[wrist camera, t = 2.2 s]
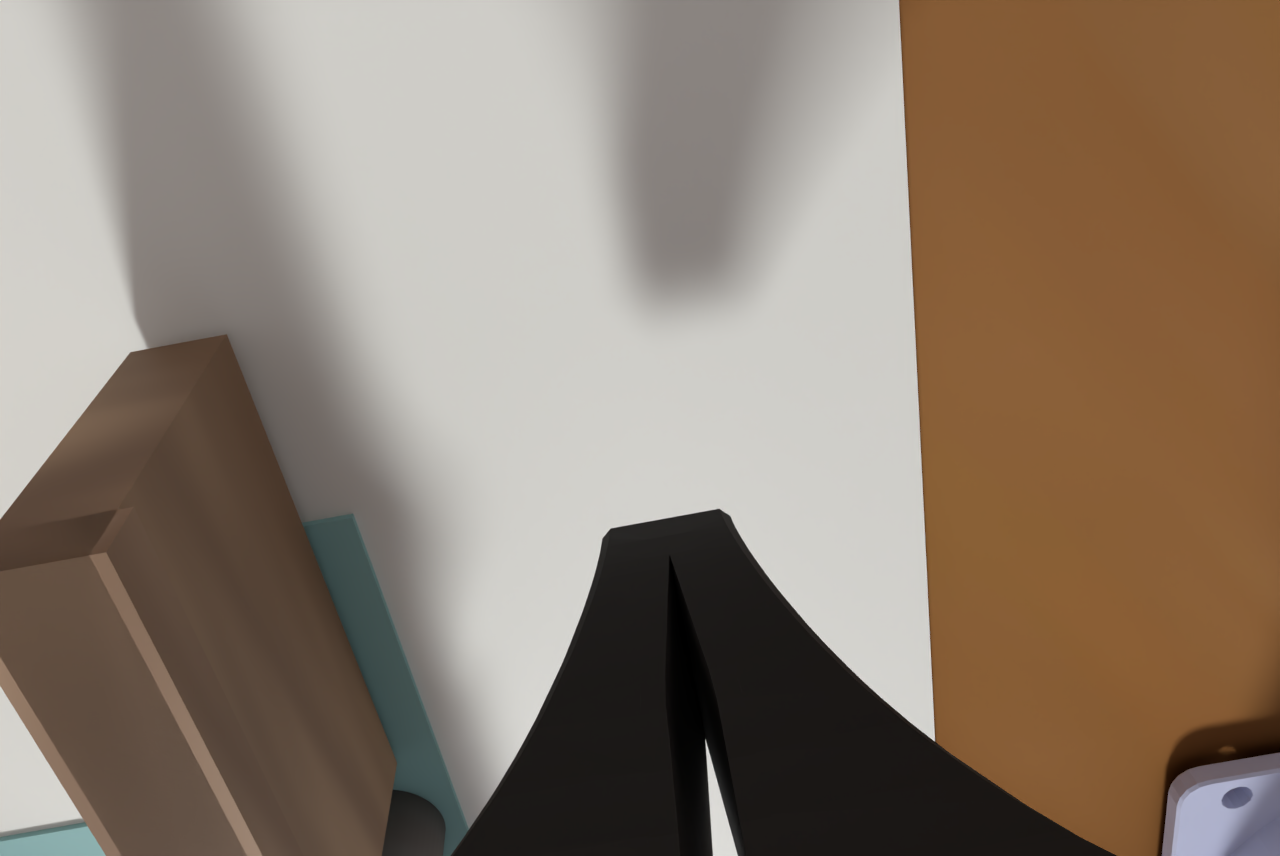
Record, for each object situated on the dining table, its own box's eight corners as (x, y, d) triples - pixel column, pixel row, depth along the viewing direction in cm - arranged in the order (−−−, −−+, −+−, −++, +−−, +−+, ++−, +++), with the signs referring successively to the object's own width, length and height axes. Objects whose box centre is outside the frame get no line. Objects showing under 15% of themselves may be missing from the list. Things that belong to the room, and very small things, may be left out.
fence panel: (239, 331, 13) (106, 552, 9) (406, 761, 17) (361, 1048, 13) (118, 354, 13) (-64, 583, 9) (311, 778, 17) (238, 1068, 13)
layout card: (877, -286, 11) (887, -288, 11) (946, 1060, 23) (952, 1080, 23) (-814, 51, 12) (-858, 57, 11) (112, 1197, 23) (106, 1218, 23)
